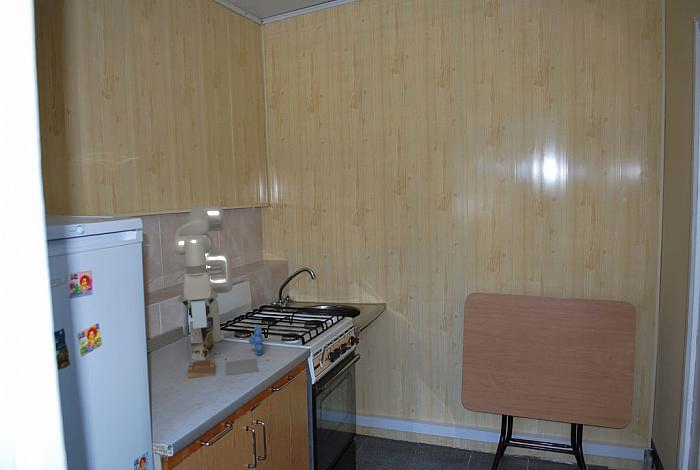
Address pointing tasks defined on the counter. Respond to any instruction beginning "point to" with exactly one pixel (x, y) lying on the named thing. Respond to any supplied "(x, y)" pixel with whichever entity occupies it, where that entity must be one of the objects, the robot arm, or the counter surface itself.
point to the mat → (241, 367)
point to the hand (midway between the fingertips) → (199, 315)
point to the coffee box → (202, 341)
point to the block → (199, 313)
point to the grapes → (257, 340)
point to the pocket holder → (201, 368)
